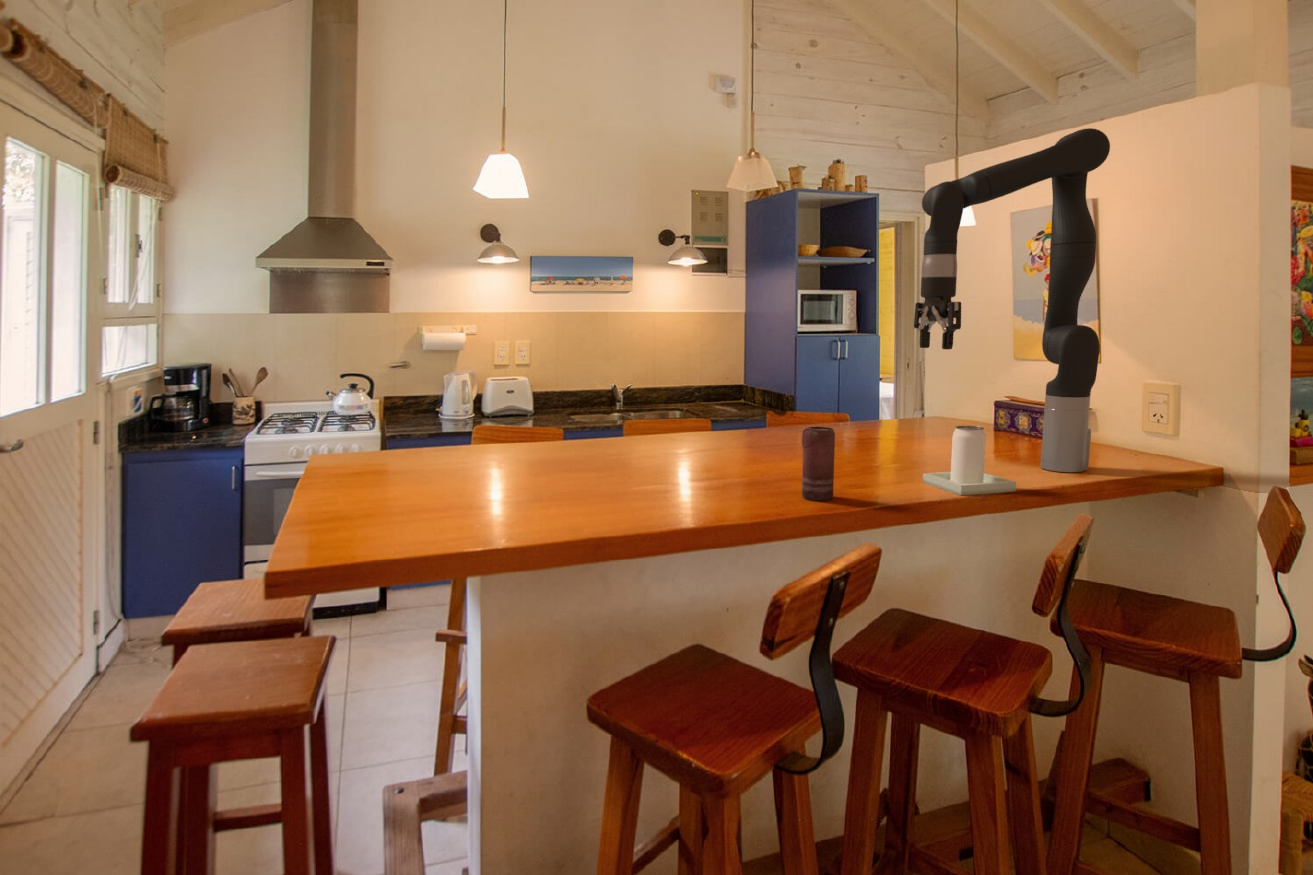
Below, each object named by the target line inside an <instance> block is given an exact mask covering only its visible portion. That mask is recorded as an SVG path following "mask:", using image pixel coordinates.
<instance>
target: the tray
mask: <svg viewBox="0 0 1313 875" xmlns="http://www.w3.org/2000/svg"><path fill="white" fill-rule="evenodd" d="M950 477H951V471H943V472H942V471H939V472H928V473H925V472H924V473H923V474H922V483H923V482H924V483H923V484H926V485H928V486H932V487H935V488H938V489H940V490H943V491H947V492H950V493H952V494H956V495H958V496H972V495H986V494H987V495H988V494H999V493H1009V492H1016V491H1017V490H1016V489H1017V481H1015V480H1012V479H1008V478H1004V477H1001V476H997V475H993V474H992V473H991V474H990V473H987V472H984V476H983V483H975V484H960V483H957V482H953V481H950Z"/></svg>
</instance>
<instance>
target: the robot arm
mask: <svg viewBox="0 0 1313 875" xmlns="http://www.w3.org/2000/svg"><path fill="white" fill-rule="evenodd" d="M1110 149H1111V142H1110V140H1109V138H1108V136H1107V135H1106V133H1104V132H1103V131H1101V130H1100V129H1097V128H1091V127H1089V128H1081V129H1078V130H1076V131H1074V132H1072V133H1069V134H1066V135H1064V136H1062V137H1061V138H1059V139H1058V141H1056V143H1055V144H1054V145H1051V146H1049V147H1047V148H1044V149H1041V150H1039V151H1036V152H1033V153H1031V154H1030V153H1029V154H1026V155H1024V156H1019V157H1017V158H1014V159H1011V160H1006V161H1004V162H1000V163H997V164H993V165H991V166H988V167H986V168H985V167H984V168H982V169H978V170H977V171H974V172H972V173H969V174H968V175H966V176H963V177H961V178H958V179H955V180H951V181H950V180H949V181H944V182H941V183H938V184H936V185H934V186H931V187H930V188H929V189H927V191H926V192H925V193H924V194H923V197H922V200H921V207H922V210H923V212H924V213H925V214H927V216H930V221H929V228H928V229H927V230H926V232H925V234H924V238H923V255H922V256H923V257H922V258H923V259H922V261H921V262H922V264H921V273H920V274H921V278H920V297H921V298H924V302H923V301H922V302H921V301H920V302H916V303H915V304H914V305H915V306H914V318H913V329H917V330H918V331H919V341H918V342H919V348H920V349H928V348H930V345H931V344H930V342H931V329H932V327H933V326H934V325H935V324H936V322H937V324H938V325H940V326H941V330H942V337H941V338H942V339H941V340H942V341H941V349H942V350H952V349H953V346H954V333H956V331H957V330H961V327H962V302H961V301H952V298H955V297H956V296H957V281H958V280H957V278H958V277H957V276H958V259H957V258H958V257H957V253H958V252H957V251H958V235H959V234H958V232H959V229H960V226H961V223H962V222H961V221H962V216H963V212H964V209H966V208H969V207H972V206H975V205H980V204H984V203H987V202H990V201H993V200H995V199H998V198H1001V197H1004V196H1007V195H1009V194H1010V195H1011V194H1012V193H1014V192H1017V191H1021V190H1022V189H1024V188H1027V187H1029V186H1032V185H1035V184H1037V183H1039V182H1043V181H1045V180H1049V179H1051V190H1052V207H1051V208H1052V210H1051V230H1050V231H1051V232H1050V234H1051V235H1050V243H1049V244H1050V246H1049V277H1048V291H1047V292H1048V296H1047V306H1046V308H1047V309H1046V315H1045V321H1044V327H1043V332H1042V340H1041V342H1042V343H1041V347H1042V352H1043V355H1044V357H1045V359H1046V360H1047V361H1048V362H1050V363H1052V364H1054V365H1058V366H1057V367H1058V368H1057V373H1056V375H1055V377H1054V378H1053V379H1052V380H1050V381H1048V382H1047V383H1046V386H1045V398H1044V410H1043V411H1044V412H1043V426H1042V439H1041V440H1042V441H1041V442H1042V443H1041V456H1040V457H1041V458H1040V468H1041V469H1044V470H1047V471H1050V472H1057V473H1058V472H1061V473H1081V472H1085V471H1088V470H1089V467H1090V466H1089V462H1090V451H1091V438H1092V430H1091V428H1089V418H1090V405H1091V393H1092V389H1093V386H1094V385H1095V383H1096V378H1097V372H1098V364H1099V358H1100V348H1101V347H1100V339H1099V336H1098V334H1097V332H1096V331H1095V330H1094V329H1093V328H1092V327H1090V326H1088V325H1081V324H1078V319H1079V318H1078V314H1079V312H1078V310H1079V305H1080V300H1081V298H1082V295H1083V293H1084V290H1085V288H1086V286H1087V284H1088V282H1089V280H1090V279H1091V276H1092V274H1093V272H1094V269H1095V264H1096V257H1097V256H1096V254H1097V251H1096V250H1097V232H1096V228H1095V224H1094V221H1093V218H1092V217H1093V216H1091V213H1090V209H1089V207H1088V202H1087V181H1088V174H1089V173H1090V172H1092V171H1094V170H1097V169H1098V168H1099V167H1101V166H1102V165H1103V164H1104V162H1105V161H1106V160H1107V159H1108V156H1109V154H1110V151H1111V150H1110ZM954 321H955V322H954Z"/></svg>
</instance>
